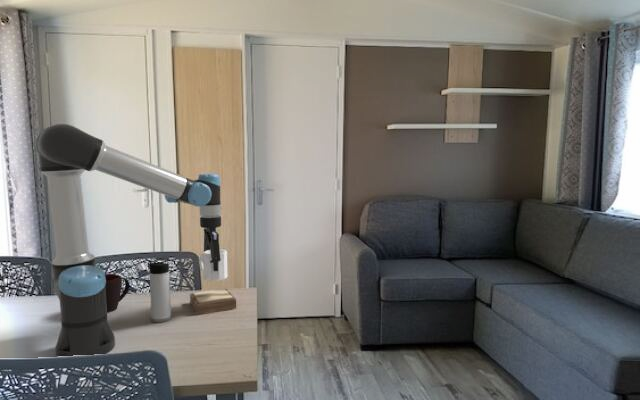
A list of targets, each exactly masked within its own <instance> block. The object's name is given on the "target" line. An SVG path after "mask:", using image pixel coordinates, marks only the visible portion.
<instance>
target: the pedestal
mask: <svg viewBox="0 0 640 400" xmlns="http://www.w3.org/2000/svg"><path fill="white" fill-rule="evenodd" d="M189 302H190V304H192V305H191V306H192V308H193V310H194V311H196V312H195V313H196V315H197V316H198V314H199V315H204V314H203V313H205V314H211V313H210V312H212V313H217V312H216V311H218V312H223V311H222V310H225V311H229V310H228V309H231V310H234V309H233V308H236V309H237V299H236V297H235V296H234V295H233V294H232V293H231V292H230V291H229V290H228V289H227V288H221V289H219V288H218V289H211V290H205V291H197V292H192V293H189Z"/></svg>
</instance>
